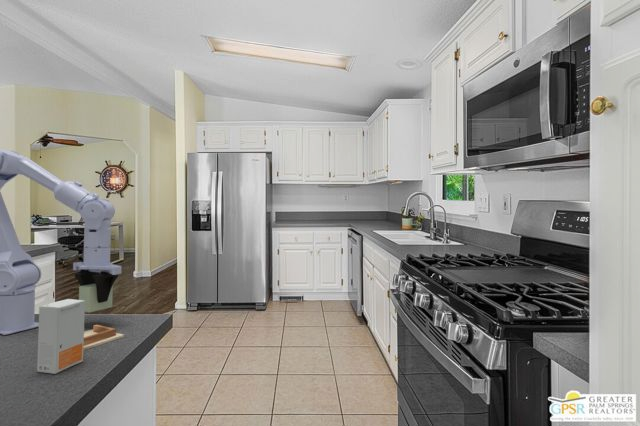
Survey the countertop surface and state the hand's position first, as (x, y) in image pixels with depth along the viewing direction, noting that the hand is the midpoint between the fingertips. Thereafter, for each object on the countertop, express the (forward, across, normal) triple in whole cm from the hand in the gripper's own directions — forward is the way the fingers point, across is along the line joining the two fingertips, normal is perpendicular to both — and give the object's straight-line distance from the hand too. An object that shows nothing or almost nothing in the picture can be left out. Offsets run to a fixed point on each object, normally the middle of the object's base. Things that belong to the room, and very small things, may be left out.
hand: (96, 300), depth 91 cm
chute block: (+2, 0, 0) cm, 2 cm away
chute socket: (+6, +8, -8) cm, 13 cm away
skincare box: (+7, +16, -19) cm, 26 cm away
